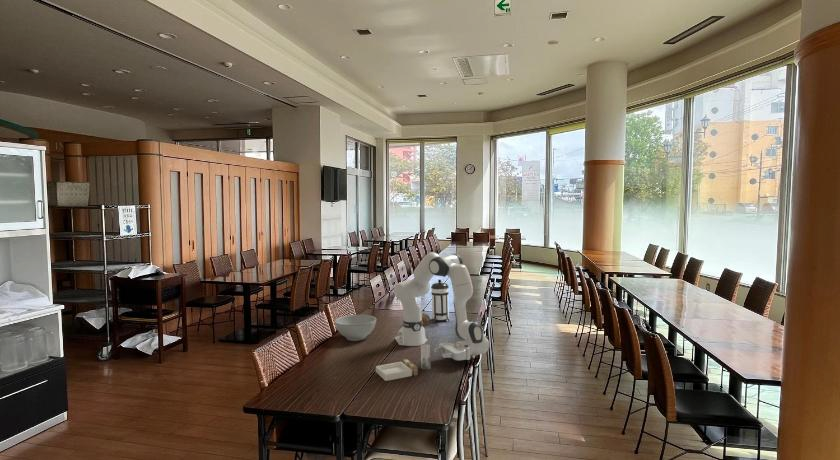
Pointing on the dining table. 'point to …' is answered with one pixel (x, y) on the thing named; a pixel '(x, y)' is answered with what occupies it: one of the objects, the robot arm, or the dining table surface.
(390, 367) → the tray
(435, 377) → the dining table surface
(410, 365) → the tan wavy block
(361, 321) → the decorative bowl
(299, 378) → the dining table surface
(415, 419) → the dining table surface
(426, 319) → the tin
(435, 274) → the robot arm
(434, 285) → the coffee press
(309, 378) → the dining table surface
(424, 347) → the steel canister
